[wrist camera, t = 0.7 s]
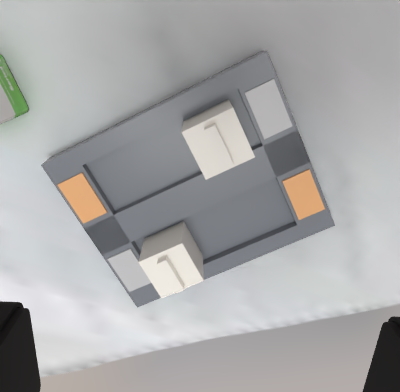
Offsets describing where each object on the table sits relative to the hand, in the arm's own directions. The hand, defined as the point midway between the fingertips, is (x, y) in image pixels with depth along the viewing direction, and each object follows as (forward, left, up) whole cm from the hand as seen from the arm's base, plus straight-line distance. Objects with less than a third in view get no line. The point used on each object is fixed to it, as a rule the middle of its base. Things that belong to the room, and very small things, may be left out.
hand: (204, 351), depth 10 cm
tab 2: (-2, 0, -23) cm, 23 cm away
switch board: (+2, +4, -24) cm, 25 cm away
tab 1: (+6, +8, -23) cm, 25 cm away
